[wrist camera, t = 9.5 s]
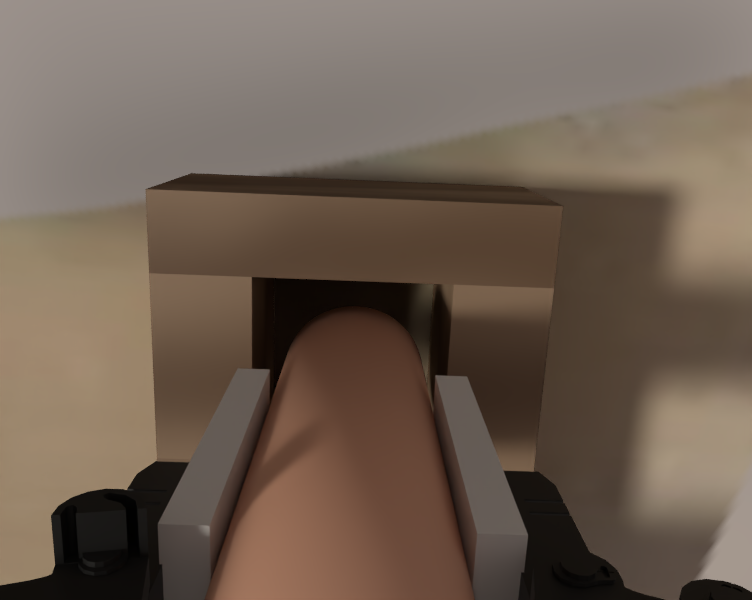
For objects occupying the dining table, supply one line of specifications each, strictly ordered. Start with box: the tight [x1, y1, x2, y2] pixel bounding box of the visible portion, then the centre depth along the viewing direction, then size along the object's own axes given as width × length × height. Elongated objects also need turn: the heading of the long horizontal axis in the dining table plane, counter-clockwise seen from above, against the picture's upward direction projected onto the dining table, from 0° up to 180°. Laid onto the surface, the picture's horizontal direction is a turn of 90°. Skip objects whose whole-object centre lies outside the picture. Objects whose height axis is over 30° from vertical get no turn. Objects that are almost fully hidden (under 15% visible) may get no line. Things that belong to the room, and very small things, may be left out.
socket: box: [146, 173, 563, 472], centre depth 23 cm, size 16×11×5 cm
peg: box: [204, 306, 475, 600], centre depth 13 cm, size 4×4×16 cm
